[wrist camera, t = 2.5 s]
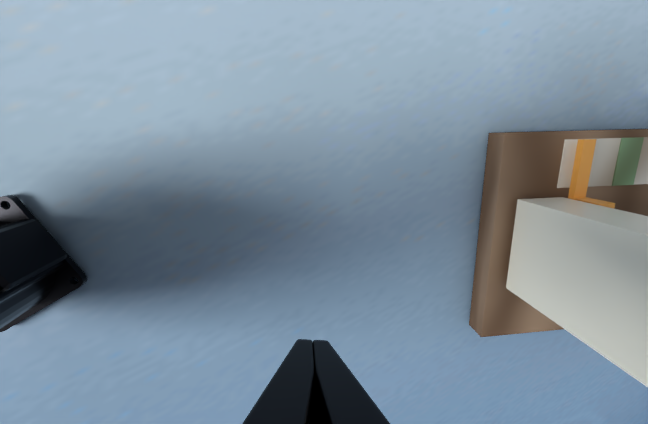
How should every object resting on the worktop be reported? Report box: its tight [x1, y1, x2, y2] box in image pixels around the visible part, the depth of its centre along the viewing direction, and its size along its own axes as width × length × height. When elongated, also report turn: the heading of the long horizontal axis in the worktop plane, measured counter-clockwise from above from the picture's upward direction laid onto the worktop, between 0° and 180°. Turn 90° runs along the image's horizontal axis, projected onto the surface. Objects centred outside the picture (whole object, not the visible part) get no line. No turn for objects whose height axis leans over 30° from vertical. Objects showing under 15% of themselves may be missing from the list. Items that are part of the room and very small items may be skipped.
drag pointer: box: [568, 139, 615, 209], centre depth 18 cm, size 1×5×2 cm, turn 1°
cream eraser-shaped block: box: [506, 197, 648, 387], centre depth 16 cm, size 7×6×9 cm
